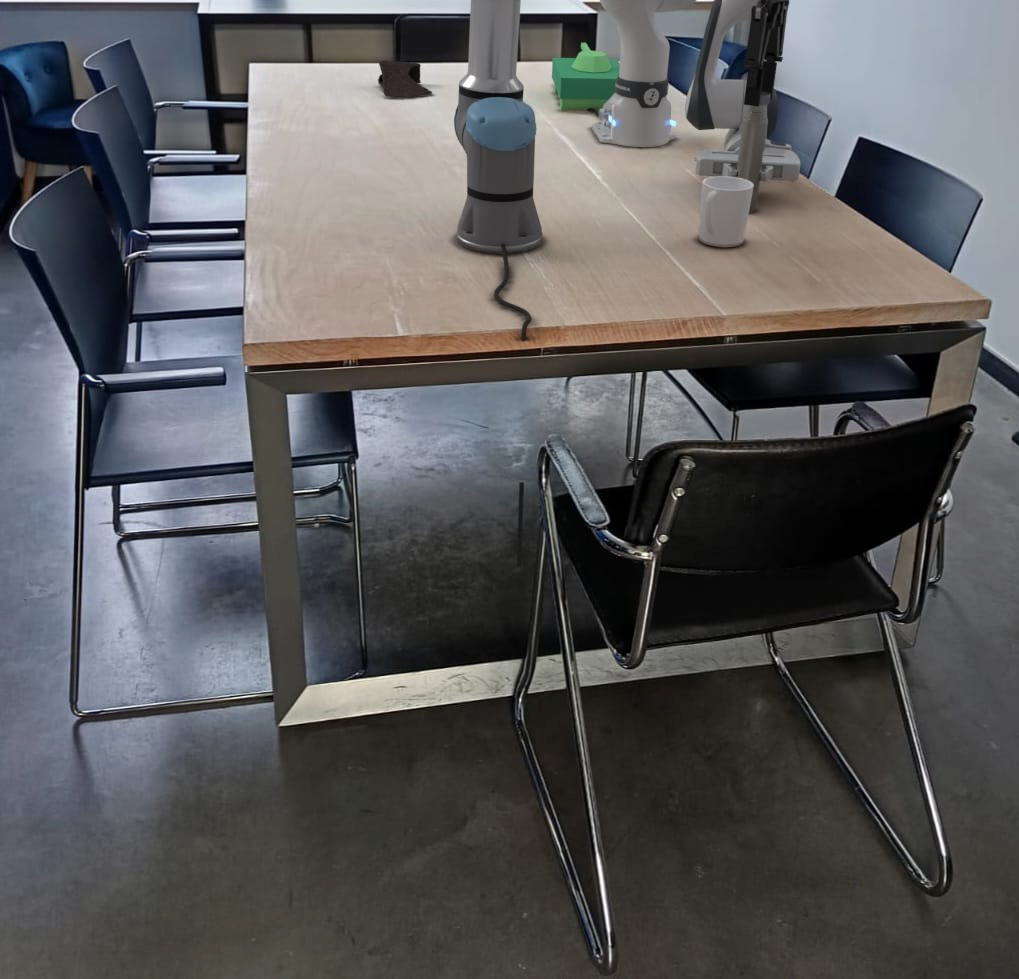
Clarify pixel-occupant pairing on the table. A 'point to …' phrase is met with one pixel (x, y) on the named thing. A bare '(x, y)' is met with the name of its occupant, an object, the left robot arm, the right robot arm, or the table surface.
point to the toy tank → (585, 79)
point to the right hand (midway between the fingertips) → (748, 176)
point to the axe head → (401, 79)
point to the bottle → (752, 148)
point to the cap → (764, 98)
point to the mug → (724, 210)
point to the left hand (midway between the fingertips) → (758, 101)
